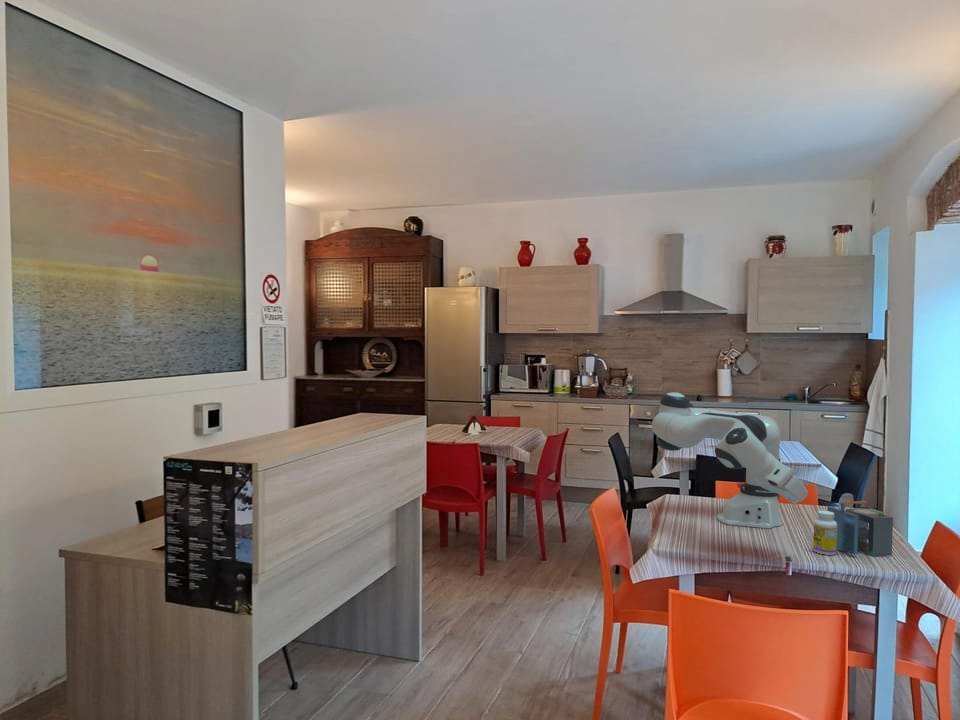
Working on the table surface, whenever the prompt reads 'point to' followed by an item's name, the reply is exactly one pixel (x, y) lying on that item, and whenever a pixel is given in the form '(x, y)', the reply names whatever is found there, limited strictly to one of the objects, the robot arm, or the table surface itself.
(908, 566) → the table surface
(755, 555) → the table surface
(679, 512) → the table surface
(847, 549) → the gauge plunger
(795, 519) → the table surface
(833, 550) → the supplement bottle
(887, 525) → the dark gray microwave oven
